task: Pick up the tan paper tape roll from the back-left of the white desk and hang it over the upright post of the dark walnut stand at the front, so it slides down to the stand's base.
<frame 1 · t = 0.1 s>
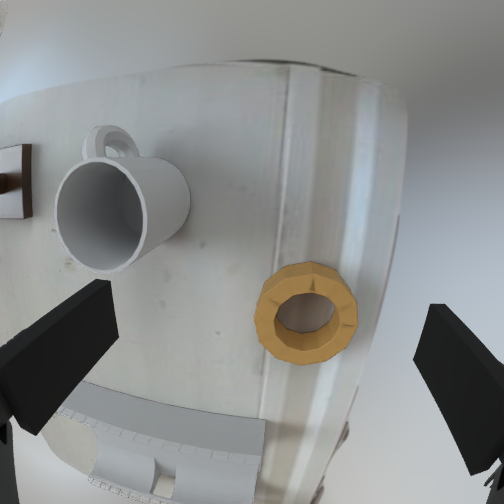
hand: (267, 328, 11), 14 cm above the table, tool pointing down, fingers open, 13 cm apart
cup: (149, 183, 25), on the table
skate ramp: (170, 453, 35), on the table
stand: (10, 182, 26), on the table
tape roll: (305, 307, 26), on the table
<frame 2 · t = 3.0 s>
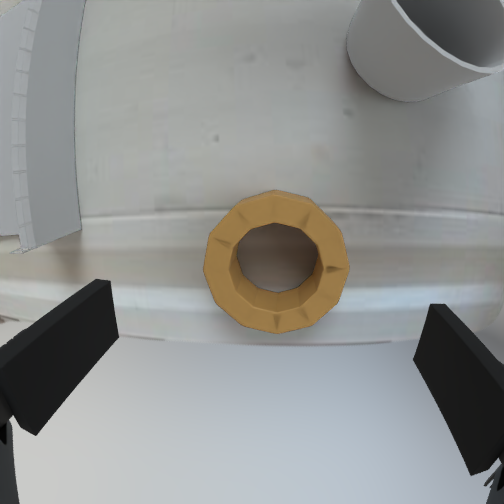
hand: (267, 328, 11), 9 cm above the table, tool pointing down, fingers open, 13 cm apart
cup: (410, 52, 15), on the table
tape roll: (277, 254, 20), on the table
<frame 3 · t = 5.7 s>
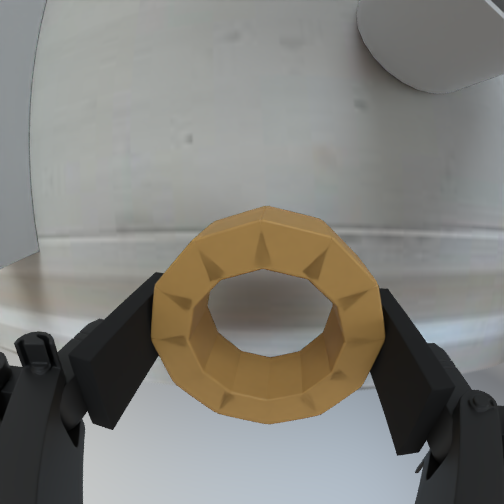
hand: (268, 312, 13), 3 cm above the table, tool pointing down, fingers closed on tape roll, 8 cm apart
cup: (434, 35, 11), on the table
tape roll: (269, 305, 13), point 3 cm above the table, touching gripper
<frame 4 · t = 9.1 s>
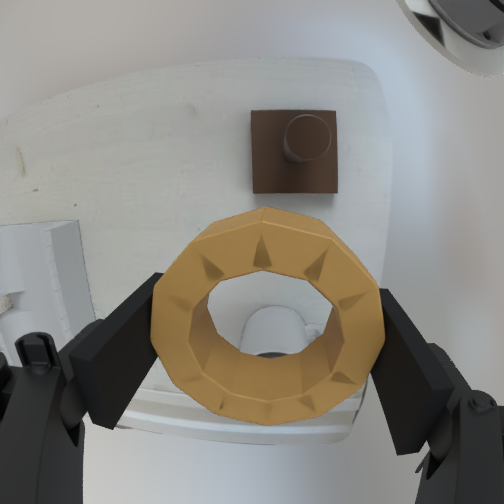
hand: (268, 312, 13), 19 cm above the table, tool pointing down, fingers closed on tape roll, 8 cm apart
cup: (287, 328, 34), on the table
skate ramp: (38, 306, 37), on the table
stand: (294, 151, 29), on the table
tape roll: (269, 306, 13), point 19 cm above the table, touching gripper
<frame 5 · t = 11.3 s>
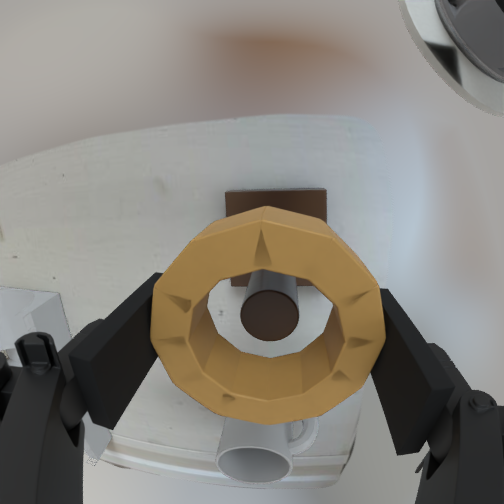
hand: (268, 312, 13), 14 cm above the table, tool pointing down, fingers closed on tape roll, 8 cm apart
cup: (272, 402, 32), on the table
skate ramp: (32, 362, 35), on the table
stand: (277, 235, 26), on the table
tape roll: (269, 306, 13), point 14 cm above the table, touching gripper
when the fingers open (10 cm above the table, at t = 12.9 s): tape roll drops 9 cm, resting on stand.
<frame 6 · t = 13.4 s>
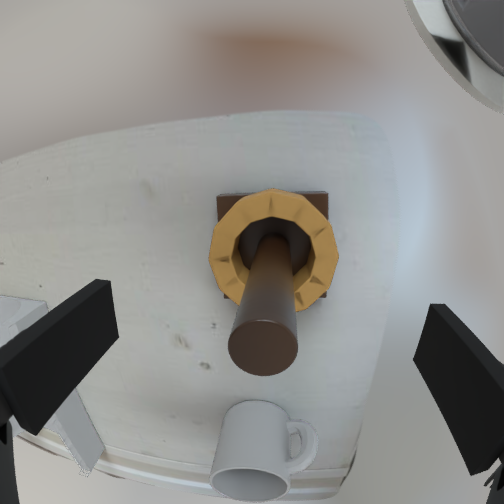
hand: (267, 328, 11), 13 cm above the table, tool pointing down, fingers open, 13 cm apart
cup: (269, 417, 29), on the table
skate ramp: (23, 370, 33), on the table
stand: (274, 243, 24), on the table
tape roll: (274, 246, 22), point 1 cm above the table, touching stand
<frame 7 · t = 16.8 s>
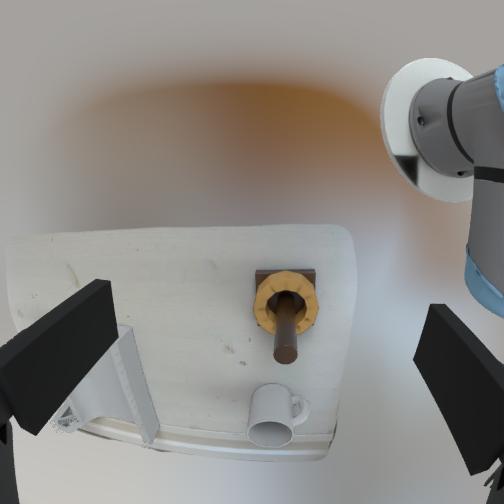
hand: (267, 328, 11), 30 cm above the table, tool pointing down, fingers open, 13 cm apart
cup: (280, 395, 48), on the table
skate ramp: (97, 374, 52), on the table
stand: (285, 296, 43), on the table
tape roll: (286, 299, 42), point 1 cm above the table, touching stand
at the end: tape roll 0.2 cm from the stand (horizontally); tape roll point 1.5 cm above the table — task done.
